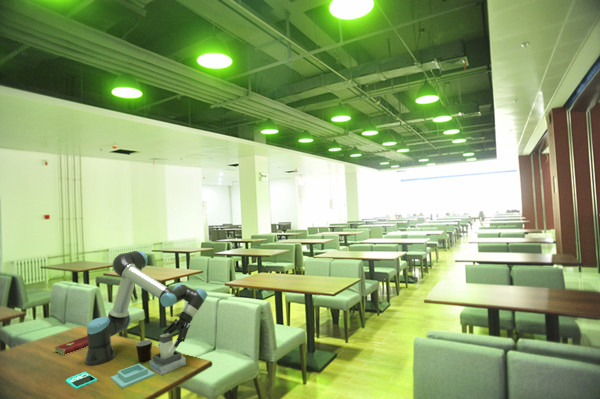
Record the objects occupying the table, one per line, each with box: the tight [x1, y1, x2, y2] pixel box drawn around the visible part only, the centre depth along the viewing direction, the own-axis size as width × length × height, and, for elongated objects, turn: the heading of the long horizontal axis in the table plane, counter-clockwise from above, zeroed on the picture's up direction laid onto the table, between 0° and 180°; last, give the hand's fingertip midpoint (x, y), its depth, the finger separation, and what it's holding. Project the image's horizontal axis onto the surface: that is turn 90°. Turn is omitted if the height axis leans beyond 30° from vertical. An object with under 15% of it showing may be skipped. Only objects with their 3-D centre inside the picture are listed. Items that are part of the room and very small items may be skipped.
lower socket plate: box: [110, 363, 156, 389], centre depth 178 cm, size 16×16×4 cm
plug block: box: [159, 333, 174, 359], centre depth 188 cm, size 5×5×13 cm
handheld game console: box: [65, 371, 98, 390], centre depth 178 cm, size 10×16×1 cm, turn 52°
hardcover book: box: [53, 335, 88, 356], centre depth 225 cm, size 12×21×4 cm, turn 150°
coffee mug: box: [135, 339, 153, 364], centre depth 199 cm, size 12×9×10 cm
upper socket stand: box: [148, 350, 187, 376], centre depth 188 cm, size 14×14×6 cm
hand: (164, 349), depth 187 cm, fingers open, 13 cm apart
